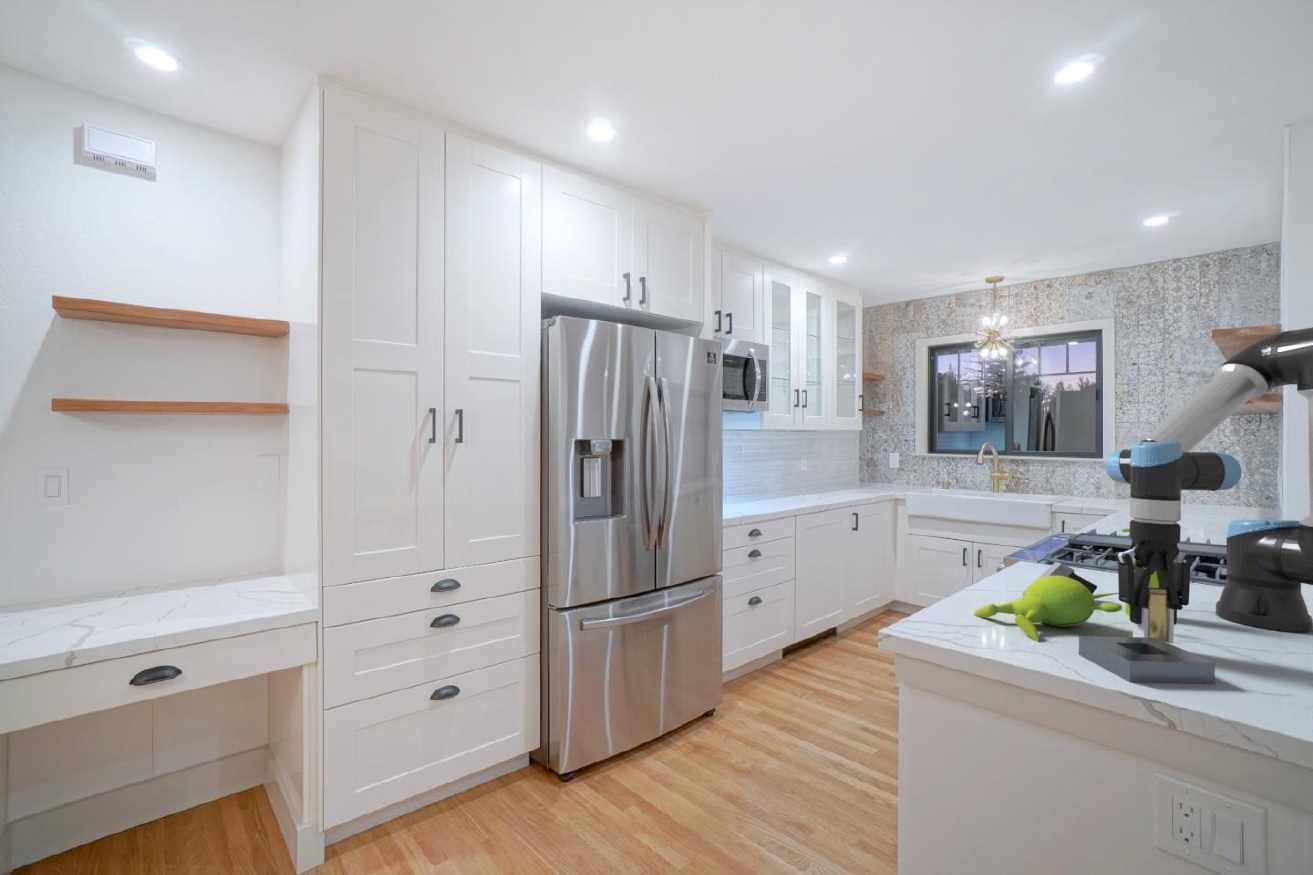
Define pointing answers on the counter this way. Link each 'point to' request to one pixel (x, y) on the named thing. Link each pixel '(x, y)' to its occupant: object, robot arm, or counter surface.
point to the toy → (1051, 604)
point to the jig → (1146, 660)
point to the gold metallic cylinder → (1157, 612)
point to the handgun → (1067, 575)
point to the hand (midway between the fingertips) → (1152, 640)
